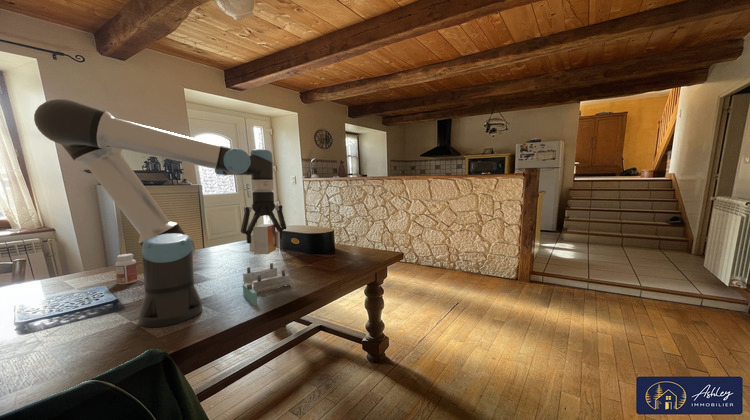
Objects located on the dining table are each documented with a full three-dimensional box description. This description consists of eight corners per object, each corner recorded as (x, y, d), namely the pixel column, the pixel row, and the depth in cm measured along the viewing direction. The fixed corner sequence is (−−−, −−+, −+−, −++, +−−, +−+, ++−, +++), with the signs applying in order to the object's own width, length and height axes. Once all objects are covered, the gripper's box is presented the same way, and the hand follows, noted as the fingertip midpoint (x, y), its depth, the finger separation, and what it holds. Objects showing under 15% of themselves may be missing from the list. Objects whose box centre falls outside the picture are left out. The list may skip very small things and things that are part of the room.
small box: (268, 254, 104) (267, 226, 103) (253, 254, 104) (252, 226, 104) (276, 249, 112) (275, 223, 111) (262, 249, 112) (261, 223, 112)
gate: (252, 305, 89) (252, 289, 89) (242, 295, 98) (242, 281, 97) (257, 304, 90) (257, 288, 90) (247, 294, 99) (247, 280, 98)
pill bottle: (137, 278, 116) (135, 252, 115) (137, 282, 111) (135, 255, 110) (117, 281, 112) (115, 254, 111) (116, 286, 107) (114, 257, 106)
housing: (255, 293, 99) (254, 277, 99) (242, 282, 111) (242, 267, 110) (290, 285, 108) (289, 270, 107) (275, 276, 119) (275, 262, 119)
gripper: (234, 191, 97) (237, 256, 98) (294, 191, 111) (296, 247, 112) (229, 191, 102) (231, 252, 104) (286, 190, 116) (288, 244, 118)
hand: (265, 249), depth 108 cm, fingers closed on small box, 9 cm apart
